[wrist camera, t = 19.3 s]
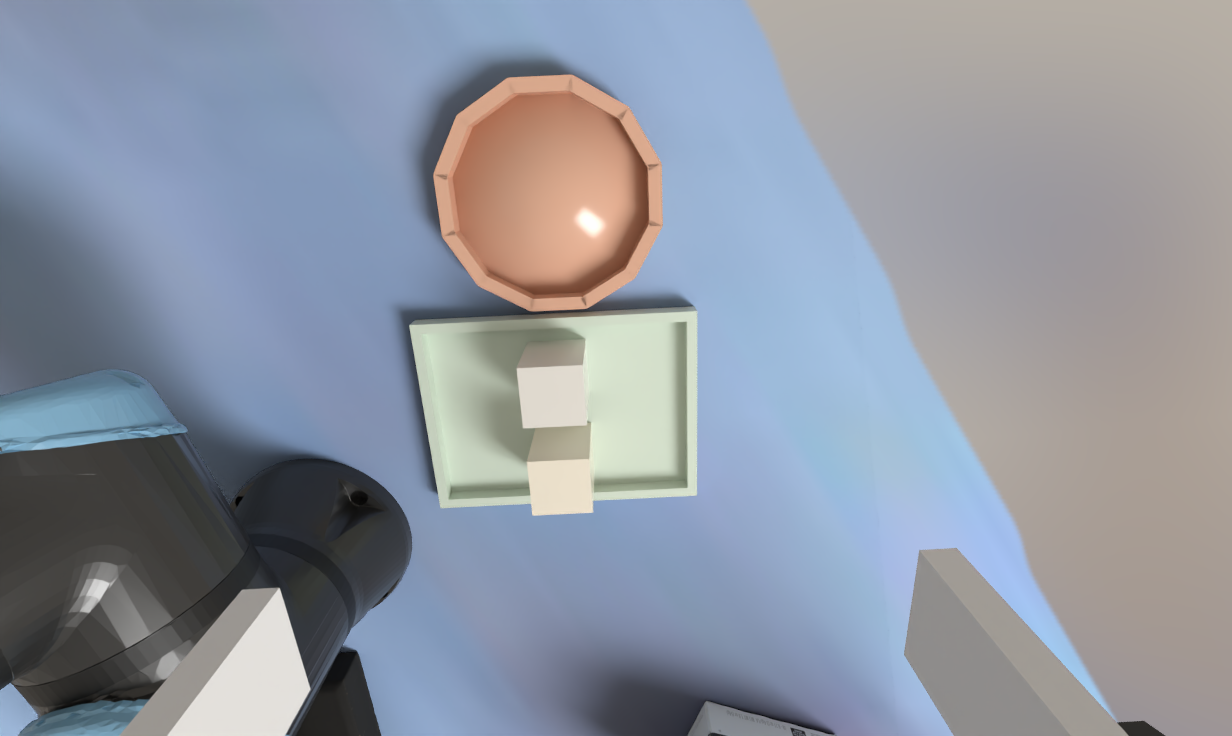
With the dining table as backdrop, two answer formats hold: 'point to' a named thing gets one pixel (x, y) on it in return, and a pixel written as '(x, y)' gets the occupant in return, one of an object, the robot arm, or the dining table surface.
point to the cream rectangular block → (561, 470)
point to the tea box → (742, 724)
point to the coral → (342, 703)
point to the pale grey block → (554, 383)
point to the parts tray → (618, 403)
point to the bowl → (549, 192)
